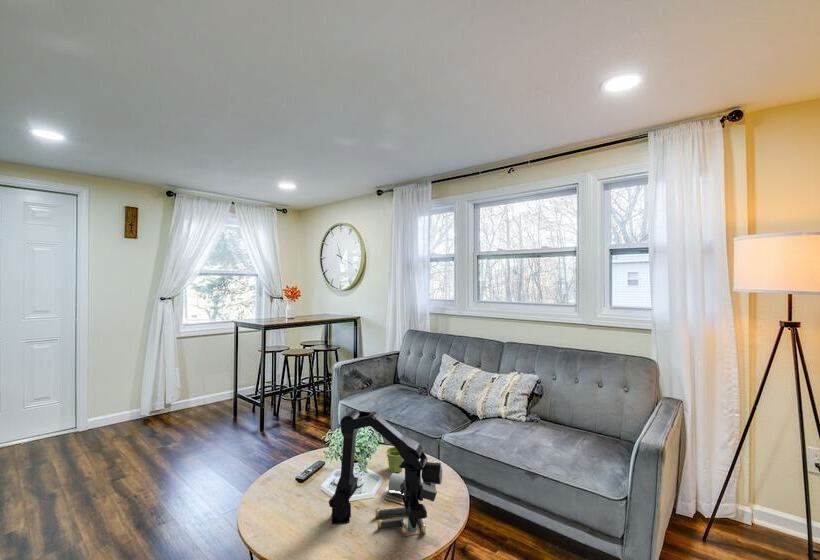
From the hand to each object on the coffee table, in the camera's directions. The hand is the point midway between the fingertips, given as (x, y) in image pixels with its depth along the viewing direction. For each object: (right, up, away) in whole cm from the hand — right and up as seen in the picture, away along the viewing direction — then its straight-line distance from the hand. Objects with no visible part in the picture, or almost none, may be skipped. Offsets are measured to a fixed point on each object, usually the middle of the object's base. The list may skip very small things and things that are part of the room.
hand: (412, 523), depth 138 cm
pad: (0, -2, 0) cm, 2 cm away
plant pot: (-7, -2, +43) cm, 44 cm away
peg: (0, -2, 0) cm, 2 cm away
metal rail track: (-5, -2, +3) cm, 6 cm away
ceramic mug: (-5, -2, +25) cm, 25 cm away
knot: (+7, -2, +29) cm, 30 cm away
